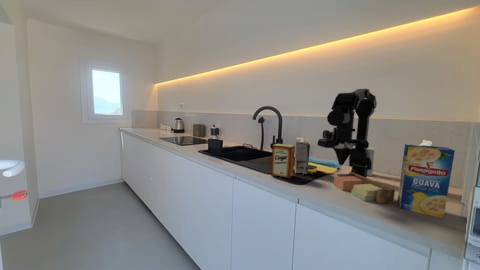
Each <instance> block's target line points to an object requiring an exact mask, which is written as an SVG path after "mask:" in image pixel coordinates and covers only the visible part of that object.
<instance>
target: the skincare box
mask: <svg viewBox="0 0 480 270" xmlns="http://www.w3.org/2000/svg"><path fill="white" fill-rule="evenodd" d="M367 150H368V151H369V153H370V156H369V157H370V159H371V162H372V169H371V170H367V177H368V176H369V177H373V173H374V172H373V170H374V159H375V148H374V147H372V146H371V147H370V146H369V147H368V148H367Z"/></svg>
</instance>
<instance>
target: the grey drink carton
mask: <svg viewBox="0 0 480 270" xmlns="http://www.w3.org/2000/svg"><path fill="white" fill-rule="evenodd" d="M310 149H311V144H310V143H308V142H306V141H296V142H295V154H294V167H295V170H294V173H295V174H296V173H303V174H302V175H304V174H307V173H309V172H308V171H309V160H310V159H309V158H310ZM307 175H308V174H307Z"/></svg>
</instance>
